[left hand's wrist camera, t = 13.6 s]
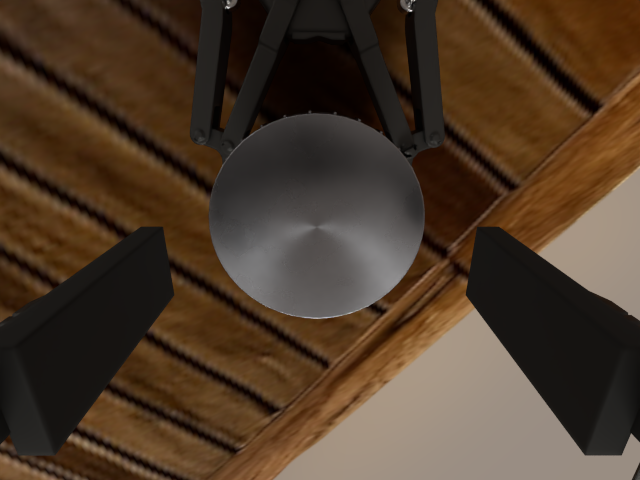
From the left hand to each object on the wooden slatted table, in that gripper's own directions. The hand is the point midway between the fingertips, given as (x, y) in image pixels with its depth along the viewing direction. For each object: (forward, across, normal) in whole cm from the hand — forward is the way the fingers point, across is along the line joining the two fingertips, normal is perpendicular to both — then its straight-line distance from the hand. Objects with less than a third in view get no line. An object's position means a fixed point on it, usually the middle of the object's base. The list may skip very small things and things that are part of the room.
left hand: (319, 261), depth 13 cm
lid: (+4, 0, 0) cm, 4 cm away
